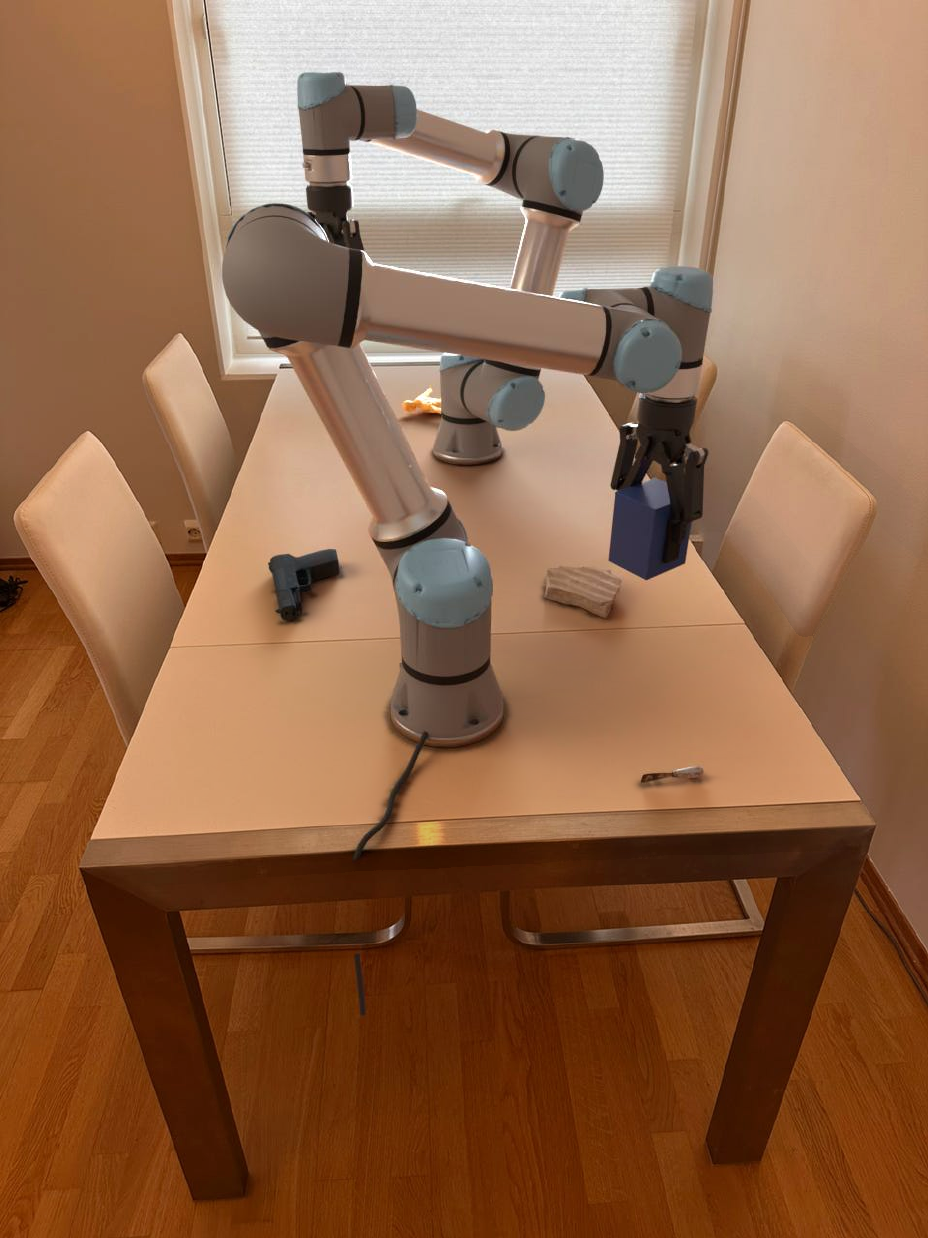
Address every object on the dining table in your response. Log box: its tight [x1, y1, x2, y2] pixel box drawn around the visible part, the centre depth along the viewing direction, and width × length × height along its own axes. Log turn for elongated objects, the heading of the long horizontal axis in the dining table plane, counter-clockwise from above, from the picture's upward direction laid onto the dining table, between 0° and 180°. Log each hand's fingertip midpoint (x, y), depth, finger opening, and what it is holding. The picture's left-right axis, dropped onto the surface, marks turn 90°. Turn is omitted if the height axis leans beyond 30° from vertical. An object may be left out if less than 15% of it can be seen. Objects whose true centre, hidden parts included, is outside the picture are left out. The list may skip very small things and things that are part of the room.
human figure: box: [402, 385, 441, 415], centre depth 225 cm, size 20×20×4 cm
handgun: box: [267, 548, 341, 621], centre depth 148 cm, size 3×18×12 cm
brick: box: [608, 477, 693, 581], centre depth 127 cm, size 8×7×11 cm
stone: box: [544, 565, 622, 619], centre depth 147 cm, size 13×12×2 cm
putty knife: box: [640, 765, 705, 784], centre depth 109 cm, size 1×8×2 cm, turn 103°
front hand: (648, 549), depth 129 cm, fingers closed on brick, 7 cm apart
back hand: (339, 318), depth 156 cm, fingers open, 13 cm apart
